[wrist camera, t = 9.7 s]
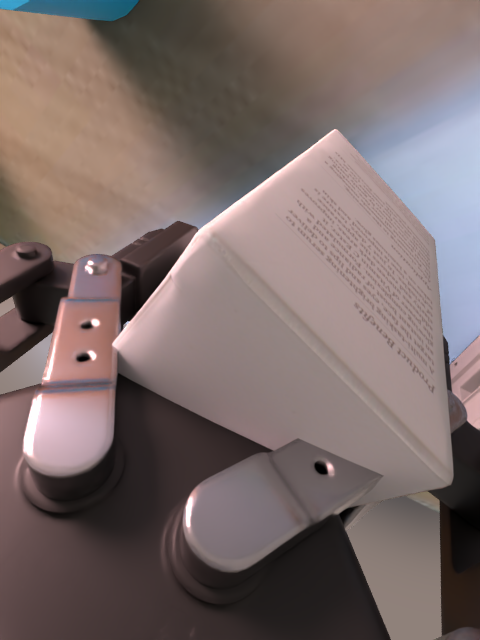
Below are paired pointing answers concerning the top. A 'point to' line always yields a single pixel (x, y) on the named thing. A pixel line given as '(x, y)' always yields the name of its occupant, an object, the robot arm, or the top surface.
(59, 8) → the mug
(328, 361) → the small box
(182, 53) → the top surface
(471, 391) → the cassette
